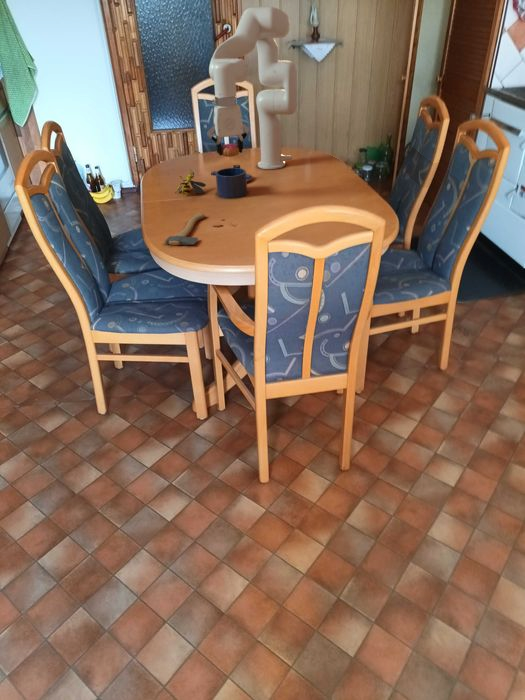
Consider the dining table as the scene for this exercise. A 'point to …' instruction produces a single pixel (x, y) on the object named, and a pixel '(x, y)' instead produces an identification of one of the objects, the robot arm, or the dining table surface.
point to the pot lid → (239, 167)
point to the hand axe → (185, 233)
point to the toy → (187, 188)
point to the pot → (231, 182)
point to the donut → (230, 150)
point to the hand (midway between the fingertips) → (230, 152)
